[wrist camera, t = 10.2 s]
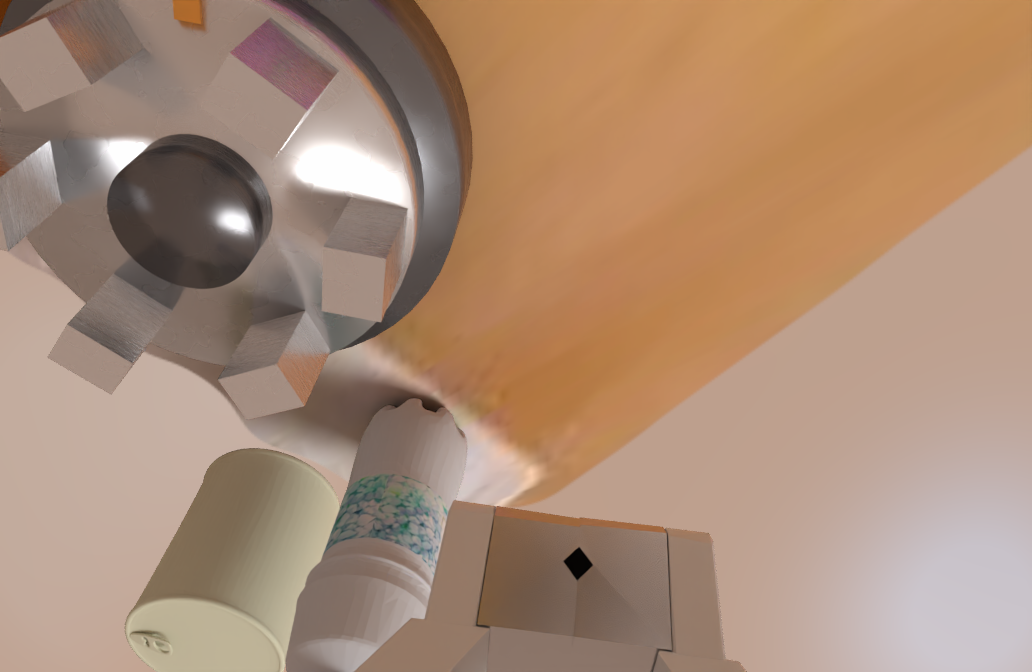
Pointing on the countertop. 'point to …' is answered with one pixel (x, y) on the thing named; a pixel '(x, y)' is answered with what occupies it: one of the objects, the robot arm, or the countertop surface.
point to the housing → (429, 110)
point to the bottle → (380, 540)
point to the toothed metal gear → (207, 185)
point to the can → (235, 567)
